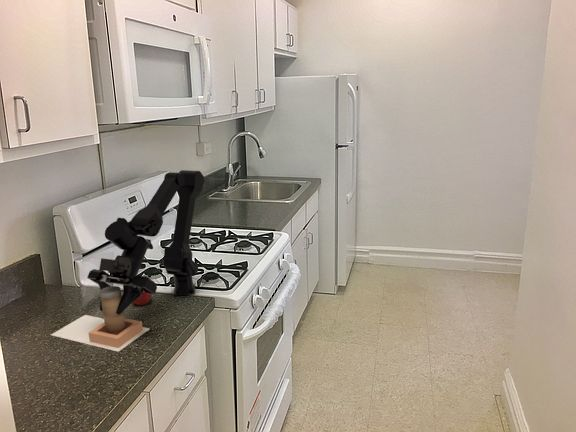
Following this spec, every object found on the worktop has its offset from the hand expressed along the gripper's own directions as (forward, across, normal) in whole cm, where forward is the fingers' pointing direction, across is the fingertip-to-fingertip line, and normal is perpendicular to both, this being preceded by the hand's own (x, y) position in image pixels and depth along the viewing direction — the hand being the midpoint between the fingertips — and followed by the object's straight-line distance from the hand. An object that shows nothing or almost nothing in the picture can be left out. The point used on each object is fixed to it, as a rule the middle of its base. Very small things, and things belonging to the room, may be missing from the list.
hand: (109, 312), depth 126 cm
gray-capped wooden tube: (+4, 0, +6) cm, 7 cm away
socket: (+4, 0, +6) cm, 7 cm away
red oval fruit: (-8, -6, +20) cm, 22 cm away
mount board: (+5, -6, +7) cm, 10 cm away
